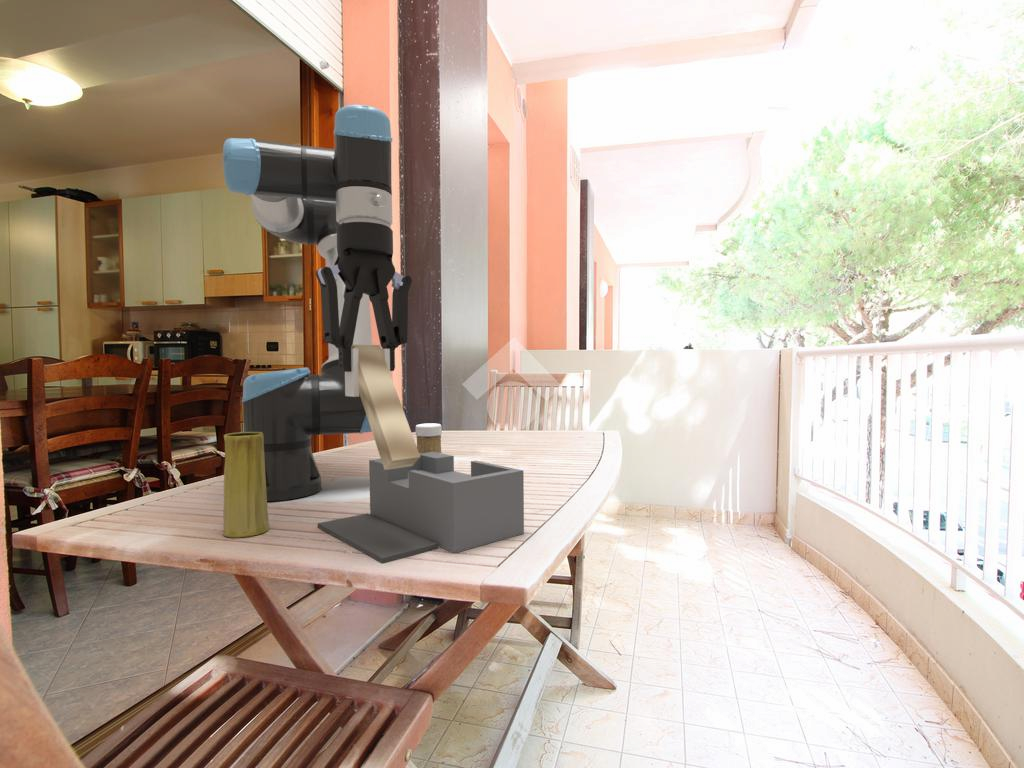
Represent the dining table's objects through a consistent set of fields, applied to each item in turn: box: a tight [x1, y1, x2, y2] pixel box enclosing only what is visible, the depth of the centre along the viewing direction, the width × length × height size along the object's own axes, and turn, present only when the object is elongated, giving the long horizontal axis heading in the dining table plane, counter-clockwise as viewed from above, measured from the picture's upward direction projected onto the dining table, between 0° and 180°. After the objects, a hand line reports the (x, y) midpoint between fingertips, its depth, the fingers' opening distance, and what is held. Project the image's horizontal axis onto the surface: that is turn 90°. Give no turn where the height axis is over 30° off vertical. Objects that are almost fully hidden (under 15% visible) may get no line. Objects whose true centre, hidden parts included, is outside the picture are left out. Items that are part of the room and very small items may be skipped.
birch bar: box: [351, 344, 420, 470], centre depth 75 cm, size 18×4×2 cm
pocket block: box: [368, 452, 525, 554], centre depth 83 cm, size 23×12×9 cm, turn 41°
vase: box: [222, 431, 270, 539], centre depth 81 cm, size 6×6×14 cm
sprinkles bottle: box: [415, 422, 443, 454], centre depth 99 cm, size 5×5×14 cm
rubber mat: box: [317, 512, 439, 564], centre depth 78 cm, size 20×8×1 cm, turn 41°
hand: (368, 395), depth 78 cm, fingers closed on birch bar, 4 cm apart
